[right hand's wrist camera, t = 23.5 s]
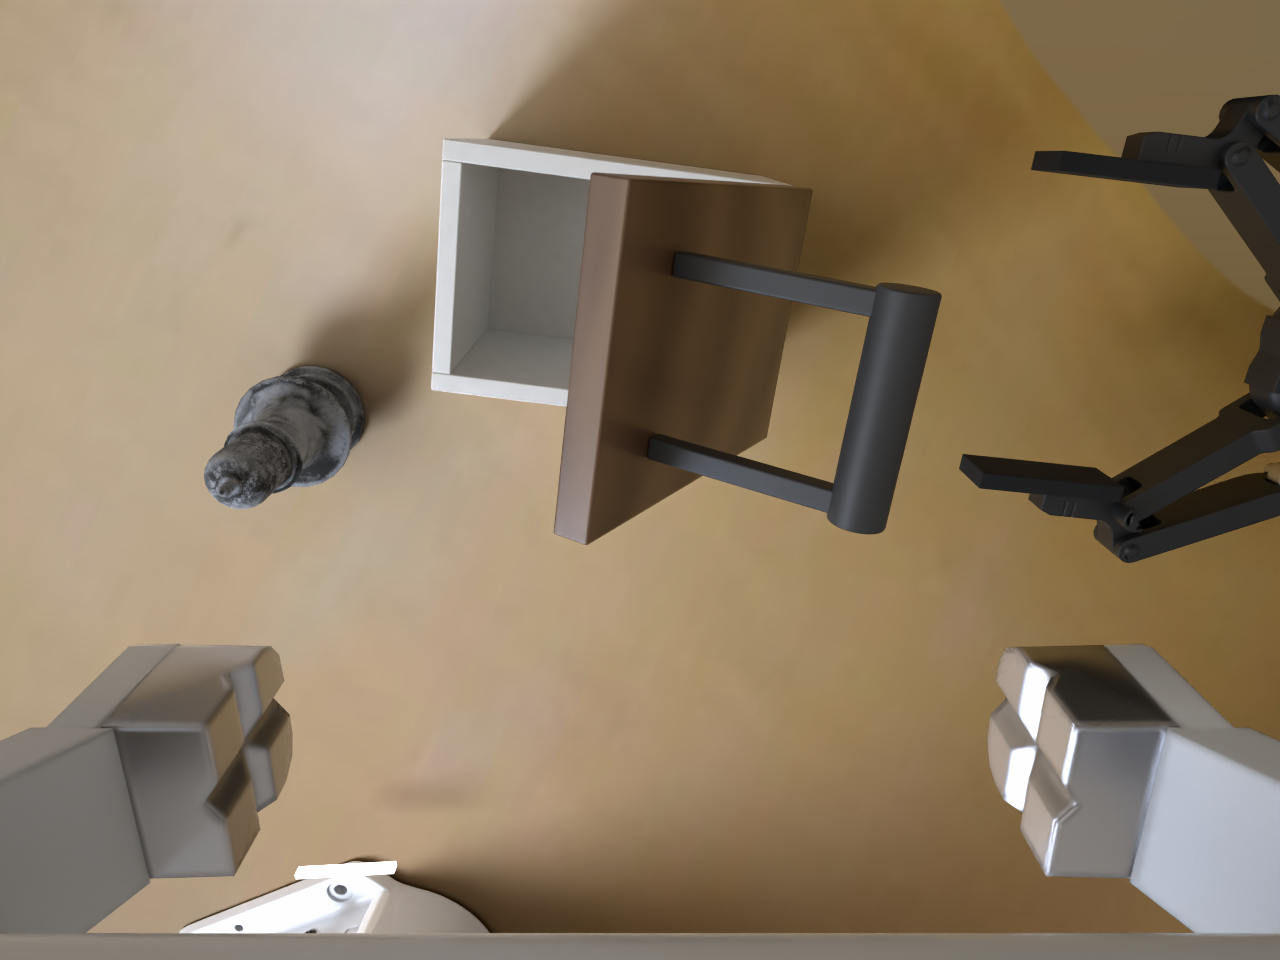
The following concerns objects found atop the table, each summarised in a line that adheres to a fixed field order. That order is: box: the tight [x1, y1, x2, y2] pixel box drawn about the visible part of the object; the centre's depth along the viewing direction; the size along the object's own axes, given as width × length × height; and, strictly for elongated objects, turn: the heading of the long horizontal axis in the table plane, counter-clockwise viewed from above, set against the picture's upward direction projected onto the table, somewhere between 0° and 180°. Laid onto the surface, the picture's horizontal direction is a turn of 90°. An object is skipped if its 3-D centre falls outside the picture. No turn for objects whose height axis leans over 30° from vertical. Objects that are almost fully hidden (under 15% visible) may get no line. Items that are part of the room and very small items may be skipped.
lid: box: [554, 172, 941, 545], centre depth 29 cm, size 14×10×8 cm
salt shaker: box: [204, 366, 365, 509], centre depth 44 cm, size 6×6×12 cm
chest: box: [431, 139, 793, 407], centre depth 42 cm, size 14×10×11 cm
